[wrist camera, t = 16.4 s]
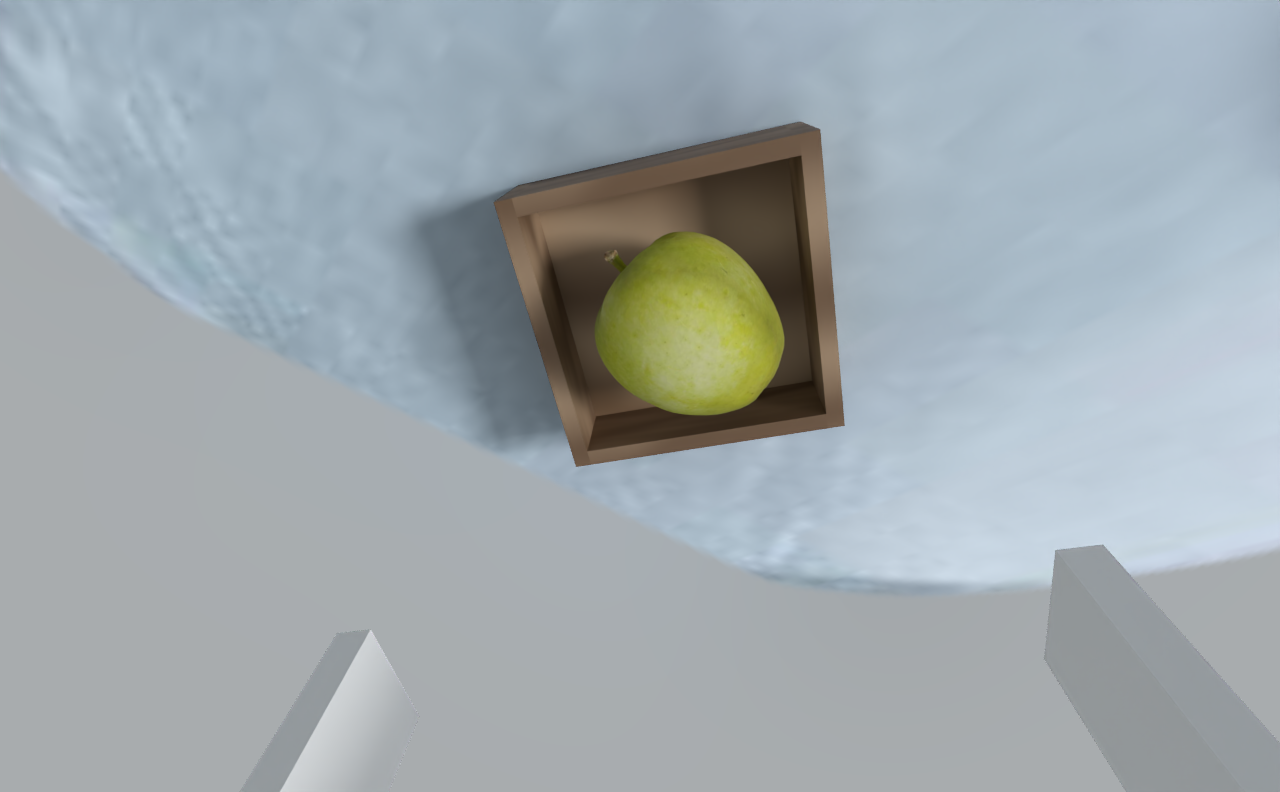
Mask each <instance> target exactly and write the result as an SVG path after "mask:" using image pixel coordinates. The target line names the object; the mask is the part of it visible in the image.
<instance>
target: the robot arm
mask: <svg viewBox="0 0 1280 792" xmlns="http://www.w3.org/2000/svg"><path fill="white" fill-rule="evenodd" d="M1044 659H1045V661H1046V663H1047V664H1048V666H1049V668H1050V669H1051V671H1052V673H1053V674H1054V676H1055V677H1056V679H1057V681H1058V682H1059V684H1060V685H1061V687H1062V689H1063V690H1064V692H1065V694H1066V695H1067V697H1068V699H1069V700H1070V702H1071V703H1072V705H1073V707H1074V708H1075V710H1076V711H1077V713H1078V715H1079V716H1080V718H1081V719H1082V721H1083V723H1084V724H1085V726H1086V728H1087V729H1088V731H1089V732H1090V734H1091V736H1092V737H1093V738H1094V741H1095V742H1096V744H1097V745H1098V747H1099V749H1100V750H1101V752H1102V754H1103V755H1104V757H1105V758H1106V760H1107V762H1108V763H1109V765H1110V767H1111V768H1112V770H1113V771H1114V773H1115V775H1116V776H1117V778H1118V779H1119V781H1120V783H1121V784H1122V786H1123V788H1124V789H1125V791H1126V792H1280V743H1279V741H1278V740H1277V739H1276V738H1275V737H1274V736H1273V735H1272V734H1271V733H1270V731H1269V730H1268V729H1267V728H1266V727H1265V726H1264V725H1263V724H1262V722H1261V721H1260V720H1259V719H1258V718H1257V717H1256V716H1255V715H1254V713H1253V712H1252V711H1251V710H1250V709H1249V708H1248V707H1247V706H1246V704H1245V703H1244V702H1243V701H1242V700H1241V699H1240V698H1239V697H1238V696H1237V694H1236V693H1235V692H1234V691H1233V690H1232V689H1231V688H1230V686H1228V685H1227V683H1226V682H1225V681H1224V680H1223V679H1222V678H1221V676H1220V675H1219V674H1218V673H1217V672H1216V671H1215V670H1214V669H1213V667H1212V666H1211V665H1210V664H1209V663H1208V662H1207V661H1206V660H1205V659H1204V657H1203V656H1202V655H1201V654H1200V653H1199V652H1198V651H1197V649H1196V648H1195V647H1194V646H1193V645H1192V644H1191V643H1190V642H1189V641H1188V639H1187V638H1186V637H1185V636H1184V635H1183V634H1182V633H1181V632H1180V630H1179V629H1178V628H1177V627H1176V626H1175V625H1174V624H1173V623H1172V621H1171V620H1170V619H1169V618H1168V617H1167V616H1166V615H1165V614H1164V612H1163V611H1162V610H1161V609H1160V608H1159V607H1158V606H1157V605H1156V603H1155V602H1154V601H1153V600H1152V599H1151V598H1150V597H1149V596H1148V595H1147V593H1146V592H1145V591H1144V590H1143V589H1142V588H1141V587H1140V586H1139V584H1138V583H1137V582H1136V581H1135V580H1134V579H1133V578H1132V577H1131V575H1130V574H1129V573H1128V572H1127V571H1126V570H1125V569H1124V568H1123V566H1122V565H1121V564H1120V563H1119V562H1118V561H1117V560H1116V559H1115V557H1114V556H1113V555H1112V554H1111V553H1110V552H1109V551H1108V550H1107V548H1106V547H1105V546H1104V545H1096V546H1087V547H1079V548H1070V549H1061V550H1055V560H1054V569H1053V579H1052V588H1051V598H1050V608H1049V617H1048V627H1047V636H1046V646H1045V655H1044ZM418 719H419V714H418V713H417V711H416V709H415V707H414V706H413V704H412V702H411V700H410V698H409V697H408V695H407V693H406V691H405V690H404V688H403V686H402V684H401V682H400V681H399V679H398V677H397V675H396V674H395V672H394V670H393V668H392V667H391V665H390V663H389V661H388V659H387V658H386V656H385V654H384V652H383V651H382V649H381V647H380V645H379V643H378V642H377V640H376V638H375V636H374V634H373V633H372V631H371V630H361V631H353V632H345V633H337V634H336V636H335V637H334V639H333V641H332V642H331V644H330V646H329V647H328V649H327V651H326V652H325V654H324V655H323V657H322V659H321V660H320V662H319V664H318V665H317V667H316V668H315V670H314V672H313V673H312V675H311V677H310V678H309V680H308V682H307V683H306V685H305V686H304V688H303V690H302V691H301V693H300V694H299V696H298V698H297V699H296V701H295V703H294V704H293V706H292V707H291V709H290V711H289V712H288V714H287V716H286V718H285V719H284V721H283V722H282V724H281V725H280V727H279V729H278V730H277V732H276V734H275V735H274V737H273V738H272V740H271V742H270V743H269V745H268V747H267V748H266V750H265V752H264V753H263V755H262V756H261V758H260V760H259V761H258V763H257V765H256V766H255V768H254V769H253V771H252V773H251V775H250V776H249V778H248V779H247V781H246V782H245V784H244V786H243V787H242V789H241V791H240V792H389V790H390V788H391V785H392V783H393V780H394V778H395V775H396V773H397V771H398V768H399V766H400V763H401V761H402V758H403V756H404V753H405V751H406V748H407V746H408V744H409V741H410V739H411V736H412V733H413V731H414V729H415V726H416V724H417V721H418Z"/></svg>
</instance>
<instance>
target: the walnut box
mask: <svg viewBox="0 0 1280 792" xmlns="http://www.w3.org/2000/svg"><path fill="white" fill-rule="evenodd" d="M494 205H495V208H496V212H497V215H498V218H499V221H500V224H501V228H502V231H503V234H504V237H505V240H506V244H507V247H508V250H509V253H510V256H511V260H512V263H513V266H514V269H515V272H516V276H517V279H518V282H519V285H520V288H521V292H522V295H523V298H524V301H525V304H526V308H527V311H528V314H529V317H530V320H531V324H532V327H533V330H534V333H535V336H536V340H537V343H538V346H539V349H540V352H541V356H542V359H543V362H544V365H545V368H546V372H547V375H548V378H549V381H550V384H551V388H552V391H553V394H554V397H555V400H556V404H557V407H558V410H559V413H560V416H561V420H562V423H563V426H564V429H565V432H566V436H567V439H568V442H569V445H570V448H571V452H572V455H573V458H574V461H575V464H576V467H578V466H585V465H591V464H598V463H604V462H611V461H617V460H624V459H630V458H637V457H643V456H650V455H657V454H663V453H670V452H676V451H683V450H689V449H696V448H702V447H709V446H715V445H722V444H728V443H735V442H741V441H748V440H754V439H761V438H767V437H774V436H780V435H787V434H793V433H800V432H806V431H813V430H819V429H826V428H832V427H839V426H845V425H844V413H843V401H842V389H841V377H840V365H839V353H838V340H837V328H836V316H835V304H834V292H833V280H832V268H831V255H830V243H829V231H828V219H827V207H826V195H825V182H824V170H823V158H822V146H821V134H820V129H818V128H815V127H813V126H810V125H808V124H805V123H803V122H797V123H792V124H788V125H784V126H779V127H775V128H770V129H766V130H761V131H757V132H753V133H748V134H744V135H739V136H735V137H730V138H726V139H722V140H717V141H713V142H708V143H704V144H699V145H695V146H691V147H686V148H682V149H677V150H673V151H668V152H664V153H660V154H655V155H651V156H646V157H642V158H637V159H633V160H629V161H624V162H620V163H615V164H611V165H606V166H602V167H598V168H593V169H589V170H584V171H580V172H575V173H571V174H567V175H562V176H558V177H553V178H549V179H544V180H540V181H536V182H531V183H527V184H522V185H518V186H517V187H515V188H514V189H512V190H511V191H509V192H508V193H506V194H505V195H503V196H502V197H501V198H499V199H498V200H496V201H495V202H494ZM685 231H687V232H696V233H700V234H703V235H707V236H710V237H712V238H715V239H717V240H719V241H720V242H722V243H724V244H725V245H727V246H728V247H730V248H731V249H732V250H734V251H735V252H736V253H737V254H738V255H739V256H740V257H741V258H742V259H744V261H745V262H746V263H747V264H748V265H749V266H750V267H751V268H752V269H753V271H754V272H755V273H756V275H757V276H758V277H759V279H760V280H761V282H762V283H763V285H764V287H765V288H766V290H767V292H768V294H769V296H770V297H771V299H772V301H773V303H774V305H775V307H776V310H777V312H778V315H779V318H780V321H781V324H782V328H783V333H784V349H783V353H782V357H781V360H780V363H779V366H778V369H777V371H776V373H775V375H774V377H773V378H772V380H771V381H770V383H769V384H768V385H767V387H766V388H765V389H764V390H763V391H762V392H761V394H760V395H759V396H758V397H757V399H756V400H755V401H753V402H752V403H751V404H749V405H747V406H745V407H743V408H741V409H738V410H734V411H731V412H727V413H723V414H717V415H684V414H678V413H673V412H669V411H666V410H663V409H661V408H658V407H656V406H654V405H652V404H650V403H648V402H646V401H644V400H642V399H640V398H638V397H637V396H635V395H633V394H632V393H630V392H629V391H628V390H626V389H625V388H624V387H623V386H622V385H621V384H620V383H619V382H618V381H617V380H616V379H615V378H614V377H613V376H612V374H611V373H610V372H609V370H608V369H607V368H606V366H605V364H604V363H603V361H602V359H601V357H600V355H599V352H598V349H597V346H596V342H595V322H596V318H597V315H598V312H599V309H600V307H601V306H602V304H603V301H604V298H605V296H606V294H607V292H608V290H609V289H610V287H611V286H612V284H613V282H614V281H615V279H616V278H617V277H618V275H619V274H620V272H619V271H618V270H617V269H616V268H615V267H614V266H613V265H612V264H610V263H609V262H608V261H606V260H605V258H604V254H605V253H606V252H607V251H610V250H613V249H614V250H616V251H617V253H618V255H619V256H620V257H621V259H622V260H623V262H624V264H626V265H627V266H628V265H629V264H630V262H631V261H632V260H633V259H634V258H635V257H636V256H637V255H638V254H639V253H640V252H642V251H643V250H645V249H646V248H648V247H649V246H650V245H651V244H652V243H653V242H654V241H655V240H657V239H658V238H660V237H661V236H663V235H666V234H668V233H672V232H685Z"/></svg>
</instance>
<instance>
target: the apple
mask: <svg viewBox="0 0 1280 792" xmlns="http://www.w3.org/2000/svg"><path fill="white" fill-rule="evenodd" d="M604 258H605V260H606V261H608V262H609V263H610V264H612V265H613V266H614V267H615V268H616V269H617V270H618V271H619V272H620V274H619V275H618V277H617V278H616V279H615V281H614V282H613V284H612V286H611V287H610V289H609V290H608V292H607V294H606V296H605V298H604V301H603V304H602V306H601V307H600V309H599V312H598V315H597V318H596V322H595V342H596V346H597V349H598V352H599V355H600V357H601V359H602V361H603V363H604V364H605V366H606V368H607V369H608V370H609V372H610V373H611V374H612V376H613V377H614V378H615V379H616V380H617V381H618V382H619V383H620V384H621V385H622V386H623V387H624V388H625V389H626V390H628V391H629V392H630V393H632V394H633V395H635V396H637V397H638V398H640V399H642V400H644V401H646V402H648V403H650V404H652V405H654V406H656V407H658V408H661V409H663V410H666V411H669V412H673V413H678V414H684V415H717V414H723V413H727V412H731V411H734V410H738V409H741V408H743V407H745V406H747V405H749V404H751V403H752V402H753V401H755V400H756V399H757V397H758V396H759V395H760V394H761V392H762V391H763V390H764V389H765V388H766V387H767V385H768V384H769V383H770V381H771V380H772V378H773V377H774V375H775V373H776V371H777V369H778V366H779V363H780V360H781V357H782V353H783V349H784V333H783V328H782V324H781V321H780V318H779V315H778V312H777V310H776V307H775V305H774V303H773V301H772V299H771V297H770V296H769V294H768V292H767V290H766V288H765V287H764V285H763V283H762V282H761V280H760V279H759V277H758V276H757V275H756V273H755V272H754V271H753V269H752V268H751V267H750V266H749V265H748V264H747V263H746V262H745V261H744V259H742V258H741V257H740V256H739V255H738V254H737V253H736V252H735V251H734V250H732V249H731V248H730V247H728V246H727V245H725V244H724V243H722V242H720V241H719V240H717V239H715V238H712V237H710V236H707V235H703V234H700V233H696V232H687V231H685V232H672V233H668V234H666V235H663V236H661V237H660V238H658V239H657V240H655V241H654V242H653V243H652V244H651V245H650V246H649V247H648V248H646V249H645V250H643V251H642V252H640V253H639V254H638V255H637V256H636V257H635V258H634V259H633V260H632V261H631V262H630V264H629V265H628V266H627V265H626V264H624V262H623V260H622V259H621V257H620V256H619V255H618V253H617V251H616V250H614V249H613V250H610V251H607V252H606V253H605V254H604Z"/></svg>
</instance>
